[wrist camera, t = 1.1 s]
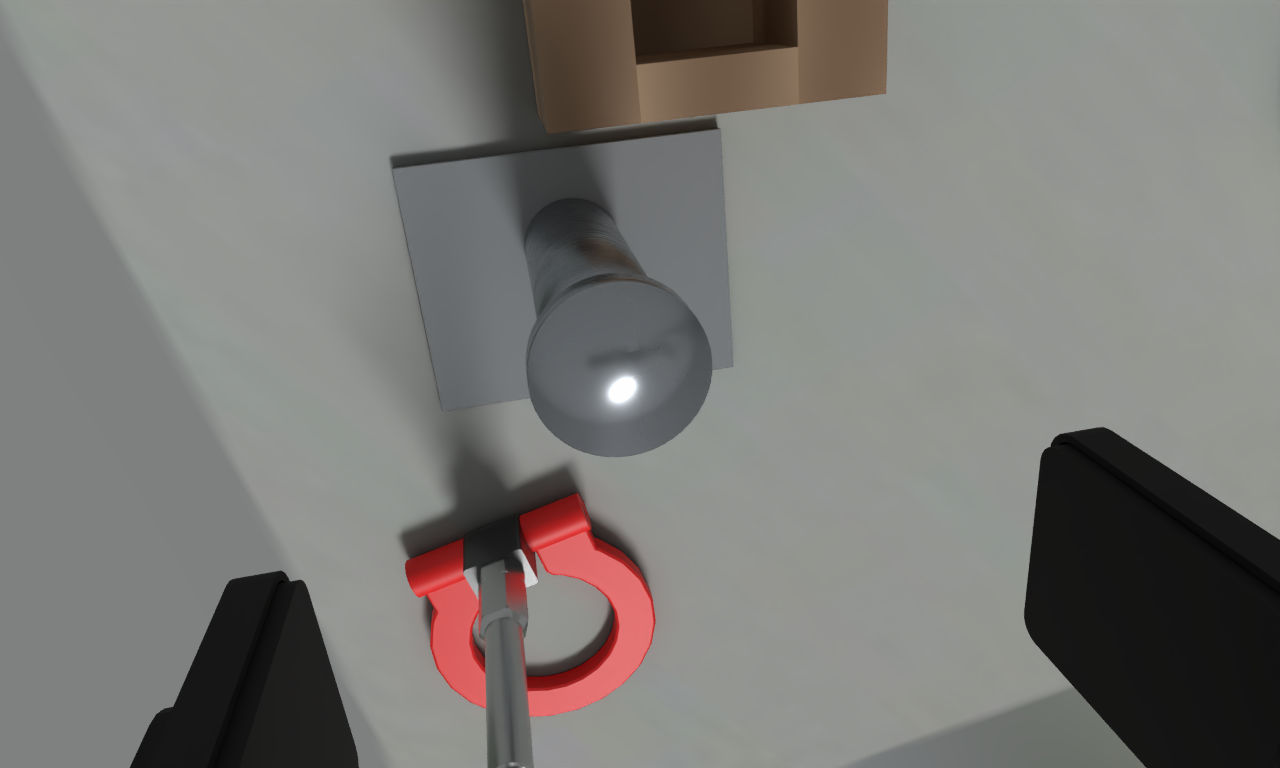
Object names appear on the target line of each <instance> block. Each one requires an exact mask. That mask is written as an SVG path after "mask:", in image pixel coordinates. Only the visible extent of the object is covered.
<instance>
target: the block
mask: <svg viewBox="0 0 1280 768" xmlns="http://www.w3.org/2000/svg"><path fill="white" fill-rule="evenodd" d="M522 1H523V8H524V15H525V23H526V30H527V37H528V45H529V52H530V59H531V67H532V74H533V81H534V88H535V96H536V103H537V110H538V116H539V118H540V120H541V122H542V123H543V125H544V127H545V129H546V131H547V133H548V134H553V133H561V132H570V131H578V130H587V129H595V128H603V127H612V126H620V125H628V124H637V123H645V122H653V121H662V120H670V119H678V118H687V117H695V116H703V115H712V114H720V113H728V112H737V111H745V110H753V109H762V108H770V107H778V106H787V105H795V104H803V103H812V102H820V101H829V100H837V99H845V98H854V97H862V96H870V95H879V94H886V77H887V27H888V0H522Z"/></svg>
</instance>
